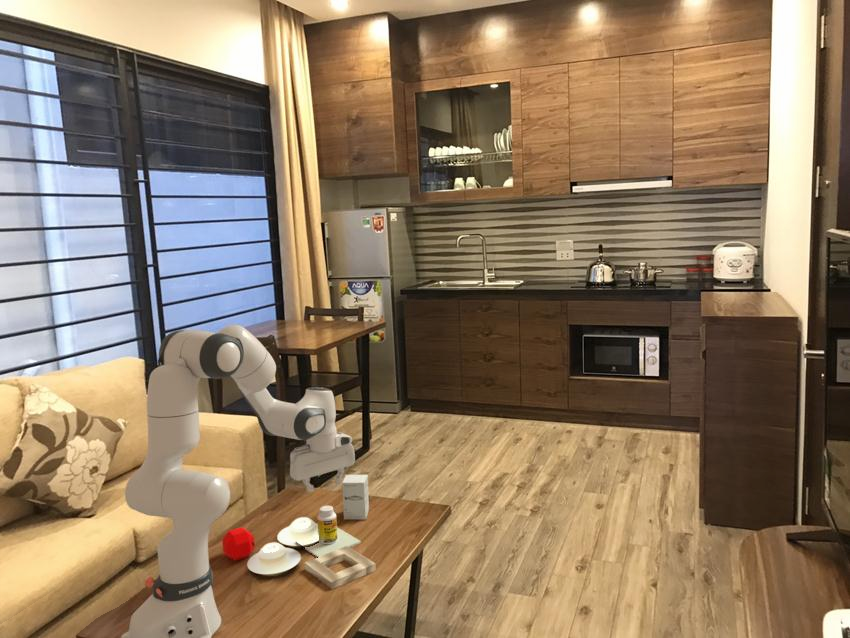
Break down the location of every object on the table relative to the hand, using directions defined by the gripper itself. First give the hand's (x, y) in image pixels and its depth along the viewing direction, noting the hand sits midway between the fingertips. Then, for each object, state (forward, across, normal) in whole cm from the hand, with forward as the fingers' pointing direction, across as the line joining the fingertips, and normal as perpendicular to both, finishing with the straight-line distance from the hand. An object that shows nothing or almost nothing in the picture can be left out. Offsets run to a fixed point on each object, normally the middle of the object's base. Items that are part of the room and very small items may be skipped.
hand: (324, 487), depth 201 cm
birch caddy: (+18, -5, -16) cm, 24 cm away
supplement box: (+17, +18, +10) cm, 27 cm away
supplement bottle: (+17, +1, 0) cm, 17 cm away
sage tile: (+18, 0, 0) cm, 18 cm away
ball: (+18, -22, +11) cm, 31 cm away
